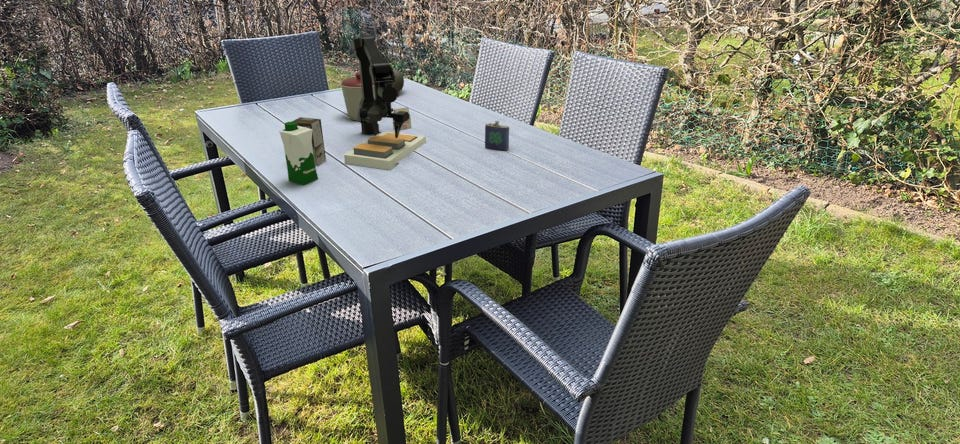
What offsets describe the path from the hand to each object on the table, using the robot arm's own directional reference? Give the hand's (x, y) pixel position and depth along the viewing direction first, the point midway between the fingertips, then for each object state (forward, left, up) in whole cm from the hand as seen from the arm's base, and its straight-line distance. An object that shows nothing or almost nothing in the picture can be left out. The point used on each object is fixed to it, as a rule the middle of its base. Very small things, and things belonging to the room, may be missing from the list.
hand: (385, 136), depth 221 cm
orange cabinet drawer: (0, +10, -6) cm, 12 cm away
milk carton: (-14, -34, -7) cm, 37 cm away
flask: (+38, +20, -7) cm, 44 cm away
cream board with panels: (-2, 0, -7) cm, 7 cm away
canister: (-34, +39, -7) cm, 52 cm away
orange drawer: (0, 0, -4) cm, 4 cm away
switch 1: (0, -10, -4) cm, 11 cm away
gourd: (-48, +81, -7) cm, 94 cm away
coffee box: (-22, -18, -7) cm, 29 cm away
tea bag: (-8, +28, -7) cm, 30 cm away
